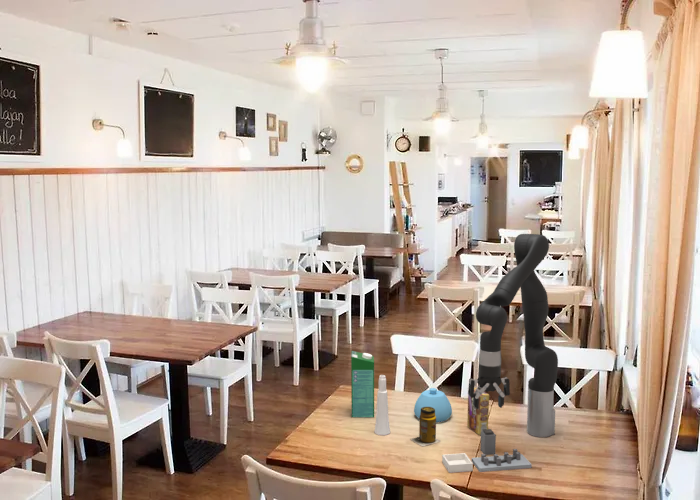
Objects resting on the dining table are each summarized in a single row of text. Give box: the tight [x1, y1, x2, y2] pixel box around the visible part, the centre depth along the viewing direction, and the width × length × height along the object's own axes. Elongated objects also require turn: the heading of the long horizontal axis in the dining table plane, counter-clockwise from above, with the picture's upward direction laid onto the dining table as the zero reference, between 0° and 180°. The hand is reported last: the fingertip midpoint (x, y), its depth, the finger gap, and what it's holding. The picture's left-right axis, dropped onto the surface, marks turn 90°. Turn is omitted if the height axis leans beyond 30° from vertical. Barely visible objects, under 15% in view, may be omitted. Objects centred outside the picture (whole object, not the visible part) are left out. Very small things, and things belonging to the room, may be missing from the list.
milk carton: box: [350, 350, 375, 418], centre depth 269 cm, size 9×9×25 cm
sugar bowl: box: [413, 387, 453, 424], centre depth 266 cm, size 15×15×12 cm
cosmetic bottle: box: [374, 374, 391, 436], centre depth 251 cm, size 6×6×22 cm
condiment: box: [410, 407, 441, 447], centre depth 243 cm, size 7×8×12 cm
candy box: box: [466, 387, 490, 436], centre depth 252 cm, size 9×4×15 cm, turn 20°
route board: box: [471, 448, 532, 473], centre depth 224 cm, size 18×8×4 cm, turn 99°
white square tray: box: [441, 452, 474, 474], centre depth 223 cm, size 8×8×3 cm
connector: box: [479, 428, 497, 456], centre depth 234 cm, size 4×4×8 cm
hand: (488, 407), depth 232 cm, fingers open, 8 cm apart
